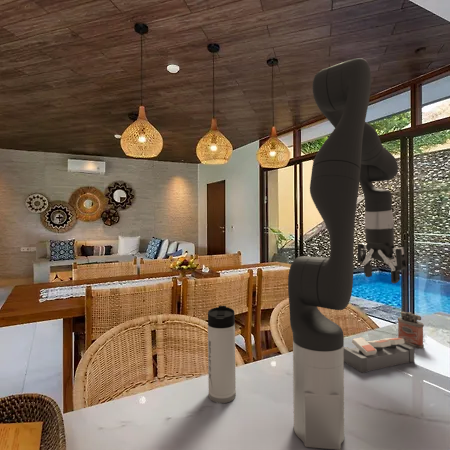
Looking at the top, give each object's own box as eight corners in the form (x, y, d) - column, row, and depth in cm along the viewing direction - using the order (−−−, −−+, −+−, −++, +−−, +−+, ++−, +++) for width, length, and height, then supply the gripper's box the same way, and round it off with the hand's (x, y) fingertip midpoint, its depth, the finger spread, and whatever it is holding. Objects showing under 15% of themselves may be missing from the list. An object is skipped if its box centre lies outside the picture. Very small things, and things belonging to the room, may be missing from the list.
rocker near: (361, 340, 89) (362, 336, 88) (375, 354, 84) (377, 349, 83) (351, 342, 88) (352, 338, 87) (366, 355, 83) (367, 351, 82)
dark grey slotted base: (392, 351, 94) (391, 338, 94) (414, 361, 87) (414, 347, 87) (342, 360, 88) (342, 346, 88) (362, 372, 81) (361, 357, 81)
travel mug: (236, 388, 74) (235, 305, 74) (234, 404, 68) (233, 313, 67) (210, 387, 75) (209, 305, 75) (206, 403, 68) (205, 313, 68)
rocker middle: (375, 344, 90) (374, 339, 91) (391, 345, 85) (389, 340, 86) (366, 346, 89) (365, 341, 89) (381, 347, 84) (380, 342, 84)
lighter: (395, 340, 102) (395, 310, 102) (402, 338, 104) (401, 309, 103) (419, 349, 95) (419, 317, 95) (426, 347, 96) (426, 315, 96)
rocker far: (389, 342, 92) (387, 337, 92) (404, 343, 87) (403, 338, 87) (380, 343, 91) (379, 339, 91) (395, 344, 86) (394, 339, 86)
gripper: (350, 226, 95) (352, 277, 97) (393, 229, 82) (396, 288, 84) (366, 222, 98) (368, 272, 100) (411, 225, 85) (412, 281, 87)
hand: (381, 279), depth 92 cm, fingers open, 8 cm apart
